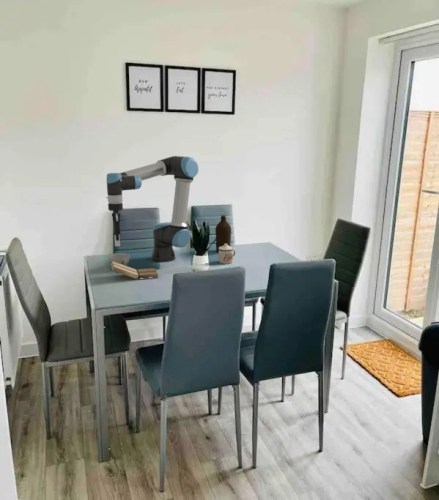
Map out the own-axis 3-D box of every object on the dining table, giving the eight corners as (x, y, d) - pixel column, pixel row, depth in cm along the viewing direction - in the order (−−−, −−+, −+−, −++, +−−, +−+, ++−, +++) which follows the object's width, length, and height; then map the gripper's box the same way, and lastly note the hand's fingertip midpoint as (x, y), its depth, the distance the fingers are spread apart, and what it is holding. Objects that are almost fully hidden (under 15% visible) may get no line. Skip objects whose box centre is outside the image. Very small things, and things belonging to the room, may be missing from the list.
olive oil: (233, 250, 302) (234, 214, 296) (226, 254, 293) (226, 217, 287) (220, 248, 307) (220, 213, 301) (212, 252, 299) (212, 215, 292)
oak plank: (110, 264, 248) (112, 260, 248) (134, 272, 253) (135, 269, 253) (112, 270, 237) (114, 267, 237) (137, 279, 242) (138, 275, 242)
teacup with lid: (223, 265, 270) (224, 246, 267) (215, 261, 277) (215, 243, 274) (239, 261, 277) (239, 243, 274) (230, 258, 284) (230, 240, 281)
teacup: (134, 268, 261) (134, 255, 259) (115, 273, 254) (114, 259, 252) (122, 263, 272) (121, 250, 270) (103, 266, 265) (102, 254, 263)
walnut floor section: (137, 273, 254) (136, 269, 253) (154, 271, 257) (154, 267, 256) (140, 279, 243) (139, 275, 242) (158, 277, 246) (158, 273, 245)
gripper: (107, 201, 239) (109, 243, 245) (108, 204, 227) (111, 249, 233) (121, 200, 241) (123, 242, 248) (123, 204, 229) (126, 248, 235)
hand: (117, 245), depth 240 cm, fingers closed
